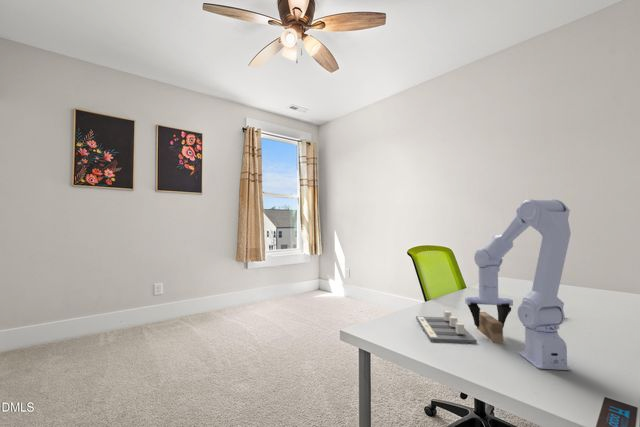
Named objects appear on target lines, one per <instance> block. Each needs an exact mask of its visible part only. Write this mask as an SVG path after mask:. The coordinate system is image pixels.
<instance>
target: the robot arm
mask: <svg viewBox="0 0 640 427" xmlns="http://www.w3.org/2000/svg"><path fill="white" fill-rule="evenodd" d="M515 212H516V215H515V217H514V218H512V220H511V221H510V223H509V225H507V227H506V229H505V230H504V231H503V232H502V234H500V233H498V234H496V235H493V236H492V239H491V240H490V241H489V243H488V244H487V245H485V246H484V248H482V249H478V250H476V252H474V258H473V259H474V262H475V264H476V265H477V267H478V296H472V297H469V296H467V297H464V304H466V305H467V306H468V308H469V311H470V313H471V316H472V319H473V322H474V326H475V327H476V328H477V327H479V314H480V312H481V308H480V307H479V305H485V306H486V305H488V306H489V305H490V306H496V310H497V320H498V321H499V322H501V323H502V324H503V328H504V327H505V323H506V320H507V317H508V315H509V314H510V313H511V312H512V307H514V300H513V299H512V298H504V297H499V272H500V271H501V270H500V269H501V265H502V264H503V257H505V256H506V254H508V253H509V252H510V250H512V249H513V248H514V242H513V241H515V240H516V239H517V238H518V237H519V236H520V235H521V234H523V233H524V232H525V231H526V230H527V229H528V228H529V227H531V228H533V229H534V230H536V231H537V232H538V233H539V234H540V235H541V237H542V238H541V243H540V247H539V248H540V249H539V254H538V259H537V263H536V268H535V273H534V278H533V281H532V288H531V290H530V291H529V293H527V294H526V295H525V296H523V298H522V301H521V304H520V305H519V306H518V307H517V317H518V319H519V321H520V323H522V326H523V327H524V340H525V341H524V342H525V345H524V346H525V350H524V351H521V350H519V351H518V354H520V355H521V356H522V357H523V358H524V359H525V360H527V361H528V362H529V363H530V364H532V365H533V366H534V367H536V369H539V370H541V369H542V370H559V371H561V370H562V371H571V370H572V368H571V367H570V366H568V349H567V348H568V347H567V343H566V341H565V340H564V339H563V337H561V336H560V334H559V332H558V330H560V325H562V324H563V323H564V321H565V316H566V315H565V312H564V305H565V304H564V302H563V301H562V300H561V299H560V298H559V297H558V293H559V289H560V284H561V279H562V275H563V270H564V267H565V266H564V265H565V261H566V256H567V253H568V248H569V243H570V238H571V228H570V223H569V216H570V213H571V212H570V209H569V207H568V206H567V205H566V204H565V203H564V202H563V201H562V200H559V199H531V198H529V199H526V200H524V201H522V202H521V204H520V206H519V207H517V208H516V211H515Z"/></svg>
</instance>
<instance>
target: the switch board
mask: <svg viewBox="0 0 640 427" xmlns="http://www.w3.org/2000/svg"><path fill="white" fill-rule="evenodd" d="M415 319H417V320H418V321H417V320H416V321H417V323H418V322H419V323H418V324H419V326H420V325H421V326H420V327H421V329H422V330H424V331H423V332H424V334H425V335H426V337H427V339H428V340H429V342H433V343H434V342H436V343H439V342H440V343H456V344H457V343H461V344H478V342H477V340H478V339H476V338H475V336H473V335H472V334H471V333H470V332H469V331H468V330H467V329H466V328H465V327H464V334H457V333H456V327H451V326H450V325H449V321H445V320H444V316H421V315H420V316H419V315H418V316H415Z"/></svg>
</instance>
